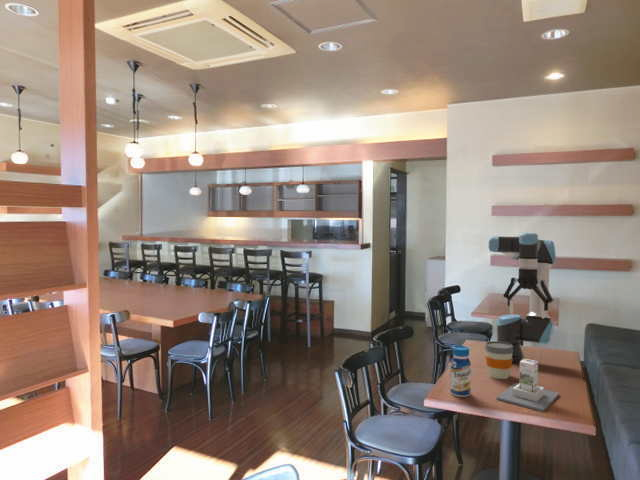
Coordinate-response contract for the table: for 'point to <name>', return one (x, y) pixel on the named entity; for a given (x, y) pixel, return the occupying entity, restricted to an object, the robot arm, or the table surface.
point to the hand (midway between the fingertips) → (527, 315)
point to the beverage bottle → (460, 372)
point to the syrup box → (528, 375)
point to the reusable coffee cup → (499, 359)
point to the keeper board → (528, 397)
